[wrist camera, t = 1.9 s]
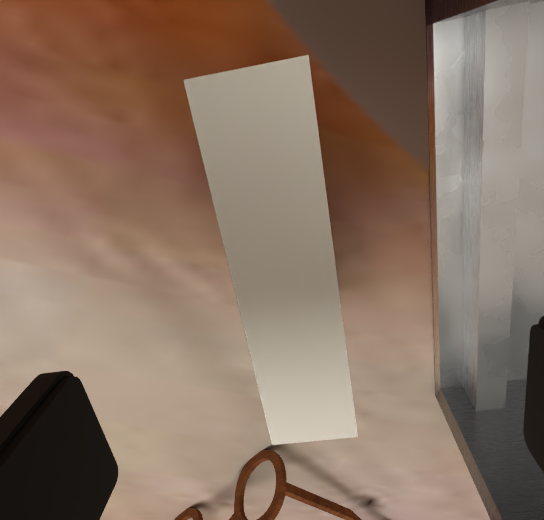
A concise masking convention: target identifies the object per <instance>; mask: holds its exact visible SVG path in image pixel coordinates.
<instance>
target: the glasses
mask: <svg viewBox="0 0 544 520" xmlns="http://www.w3.org/2000/svg"><path fill="white" fill-rule="evenodd" d="M266 460H270V461H271V462H272V463H273V465H274V468H275V472H276V490H275V495H274V498H273V501H272V503H271V505H270V507H269V508H268V510H267V511H266V512H265V513H264V515H263V516H261V517H260V518H259V519H257V520H274V519H275V518H276V516H277V515H278V513H279V511H280V509H281V507H282V504H283V501H284V498H285V495H286V496H289V497H291V498H293V499H296V500H298V501H301V502H303V503H306V504H308V505H311V506H313V507H316V508H318V509H321V510H323V511H325V512H328V513H330V514H333V515H335V516H338V517H340V518H343V519H345V520H361V519H360V518H359V517H358V516H357V515H356V514H355V513H354V512H353V511H351V510H350V509H348V508H346V507H343V506H341V505H338V504H336V503H334V502H331V501H329V500H327V499H324V498H322V497H320V496H317V495H315V494H313V493H310V492H308V491H305V490H303V489H301V488H298V487H296V486H294V485H291V484H289V483H287V482H286V470H285V466H284V463H283V460H282V459H281V457H280V455H278V454H277V453H276V452H273V451H271V450H264V451H261V452H259V453H258V454H256V455H255V456H254V457H253V458H251V459H250V460H249V461H248V463H247V464H246V465H245V467H244V468H243V470H242V472H241V474H240V476H239V479H238V482H237V486H236V492H235V503H234V514H233V515H232V517H231V518H230V519H229V520H248V519H247V518H246V516H245V513H244V491H245V486H246V483H247V480H248V478H249V476H250V474H251V473H252V471H253V470H254V469H255V468H256V467H257V466H258V465H259V464H260V463H262V462H264V461H266ZM189 518H193V520H203V518H202V514H201V512H200V511H199V510H197V509H194V508H188V509H186V510H185V511H184V512H182V513H181V514H180V515H179V516H178V517H177V518H176V519H175V520H187V519H189Z"/></svg>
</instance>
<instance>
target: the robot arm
mask: <svg viewBox="0 0 544 520" xmlns="http://www.w3.org/2000/svg"><path fill="white" fill-rule="evenodd" d="M523 434H524V439H525V442H526V445H527V447H528V449H529V451H530V453H531V454H532V456H533V457H534V459H535V461H536V462H537V464H538V465H539V467H540V469H541V470H542V472H543V473H544V316H543V317H541V318H540V320H539V323H538V324H535V325H533V326H532V327H531V329H530V339H529V353H528V368H527V382H526V397H525V411H524V426H523ZM117 478H118V466H117V463H116V461H115V458H114V456H113V454H112V451H111V449H110V447H109V444H108V442H107V440H106V438H105V435H104V433H103V431H102V428H101V426H100V424H99V421H98V419H97V417H96V415H95V412H94V410H93V408H92V405H91V403H90V401H89V398H88V396H87V394H86V392H85V389H84V387H83V385H82V382H81V381H80V379H79V378H78V377H74V376H73V374H72V373H70V372H69V371H61V372H52V373H43V374H40V375H38V376H37V377H36V378H35V379H34V380H33V381H32V382H31V383H30V385H29V386H28V387H27V388H26V389H25V390H24V391H23V392H22V393H21V395H20V396H19V397H18V398H17V399H16V400H15V401H14V402H13V403H12V405H11V406H10V407H9V408H8V409H7V410H6V411H5V412H4V414H3V415H2V416H1V417H0V520H99V519H100V517H101V515H102V513H103V511H104V508H105V506H106V504H107V502H108V500H109V498H110V495H111V493H112V491H113V489H114V487H115V484H116V482H117Z"/></svg>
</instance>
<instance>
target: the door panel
mask: <svg viewBox="0 0 544 520" xmlns="http://www.w3.org/2000/svg"><path fill="white" fill-rule="evenodd" d="M183 81H184V85H185V89H186V93H187V97H188V102H189V106H190V110H191V114H192V118H193V122H194V126H195V130H196V134H197V138H198V143H199V147H200V151H201V155H202V159H203V163H204V167H205V171H206V175H207V180H208V184H209V188H210V192H211V196H212V200H213V204H214V208H215V212H216V216H217V221H218V225H219V229H220V233H221V237H222V241H223V245H224V249H225V253H226V258H227V262H228V266H229V270H230V274H231V278H232V282H233V286H234V290H235V294H236V299H237V303H238V307H239V311H240V315H241V319H242V323H243V327H244V331H245V336H246V340H247V344H248V348H249V352H250V356H251V360H252V364H253V368H254V372H255V377H256V381H257V385H258V389H259V393H260V397H261V401H262V405H263V409H264V414H265V418H266V422H267V426H268V430H269V434H270V438H271V442H272V445H278V444H288V443H299V442H309V441H320V440H330V439H341V438H351V437H358V435H357V427H356V419H355V411H354V404H353V396H352V388H351V380H350V373H349V365H348V357H347V349H346V342H345V334H344V326H343V318H342V311H341V303H340V295H339V287H338V280H337V272H336V264H335V256H334V249H333V241H332V233H331V225H330V218H329V210H328V202H327V194H326V187H325V179H324V171H323V163H322V156H321V148H320V140H319V132H318V125H317V117H316V109H315V101H314V94H313V86H312V78H311V70H310V63H309V55H305V56H300V57H295V58H290V59H285V60H280V61H275V62H270V63H265V64H260V65H255V66H250V67H245V68H240V69H235V70H230V71H225V72H220V73H215V74H210V75H205V76H200V77H195V78H190V79H185V80H183Z"/></svg>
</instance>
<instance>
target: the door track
mask: <svg viewBox="0 0 544 520" xmlns="http://www.w3.org/2000/svg"><path fill="white" fill-rule="evenodd" d="M425 14H426V50H427V51H426V52H427V91H428V126H429V127H428V129H429V167H430V206H431V244H432V282H433V321H434V359H435V396H436V398H437V400H438V402H439V405H440V407H441V409H442V411H443V414H444V416H445V418H446V420H447V423H448V425H449V427H450V429H451V432H452V434H453V436H454V438H455V441H456V443H457V445H458V447H459V450H460V452H461V454H462V456H463V458H464V461H465V463H466V465H467V467H468V470H469V472H470V474H471V476H472V479H473V481H474V483H475V485H476V488H477V490H478V492H479V494H480V497H481V499H482V501H483V503H484V506H485V508H486V510H487V512H488V515H489V517H490V519H491V520H544V473H543V472H542V470H541V469H540V467H539V465H538V464H537V462H536V461H535V459H534V457H533V456H532V454H531V453H530V451H529V449H528V447H527V445H526V442H525V439H524V434H523V426H524V411H525V397H526V382H527V368H528V353H529V339H530V329H531V327H532V326H533V325H535V324H538V323H539V320H540V318H541V317H543V316H544V0H425Z"/></svg>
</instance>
